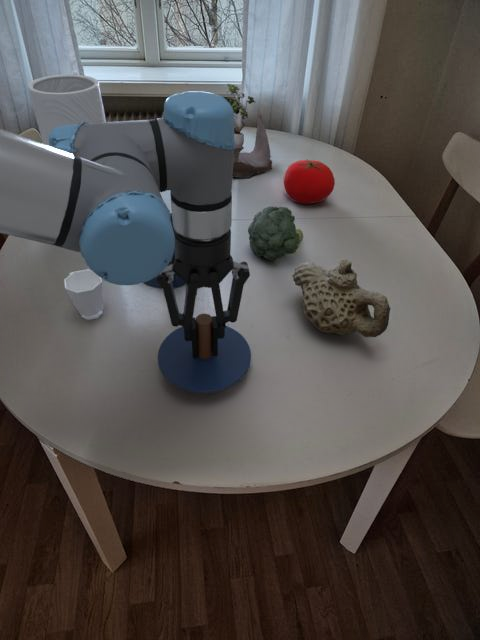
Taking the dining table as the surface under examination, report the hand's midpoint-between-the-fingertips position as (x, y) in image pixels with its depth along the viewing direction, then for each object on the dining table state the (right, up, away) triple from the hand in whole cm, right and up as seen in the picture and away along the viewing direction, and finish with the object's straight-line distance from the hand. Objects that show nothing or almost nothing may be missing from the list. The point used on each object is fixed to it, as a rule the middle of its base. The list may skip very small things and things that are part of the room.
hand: (204, 350), depth 71 cm
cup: (-24, +7, +14) cm, 29 cm away
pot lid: (0, -1, +1) cm, 1 cm away
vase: (-31, +30, +38) cm, 57 cm away
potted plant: (+5, +54, +65) cm, 85 cm away
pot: (-10, +17, +24) cm, 31 cm away
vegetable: (+14, +21, +30) cm, 39 cm away
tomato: (+24, +39, +50) cm, 68 cm away
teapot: (+24, +4, +12) cm, 27 cm away
